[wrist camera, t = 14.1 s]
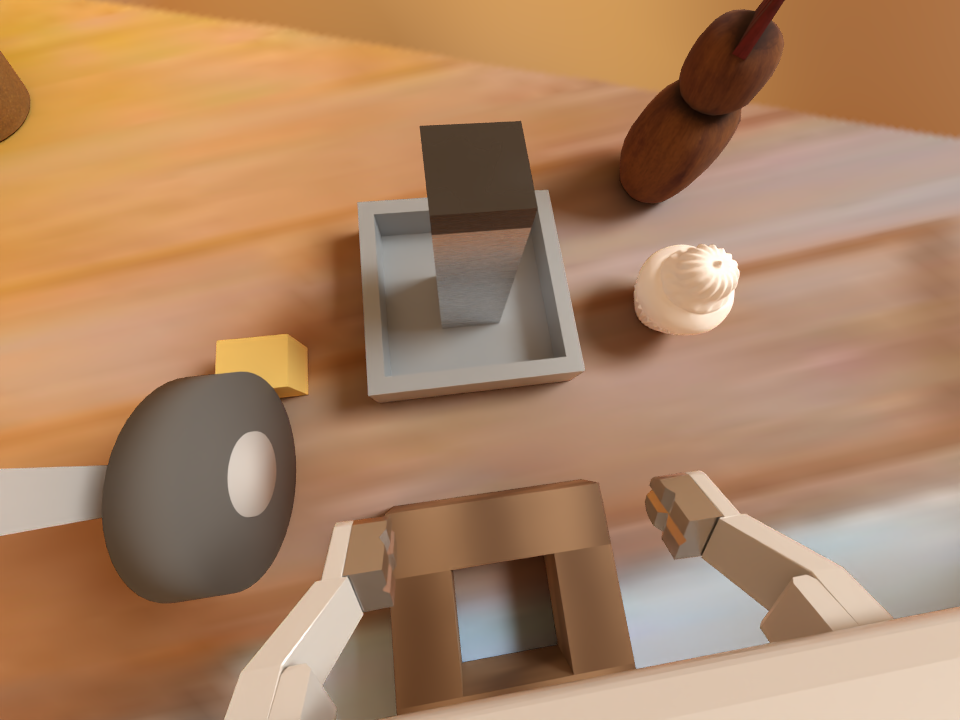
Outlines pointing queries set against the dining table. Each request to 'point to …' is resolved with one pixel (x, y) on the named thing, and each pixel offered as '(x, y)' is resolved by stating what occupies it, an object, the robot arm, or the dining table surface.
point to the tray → (461, 350)
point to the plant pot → (11, 100)
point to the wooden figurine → (701, 104)
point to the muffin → (686, 289)
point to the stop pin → (477, 215)
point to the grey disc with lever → (186, 478)
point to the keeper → (491, 539)
